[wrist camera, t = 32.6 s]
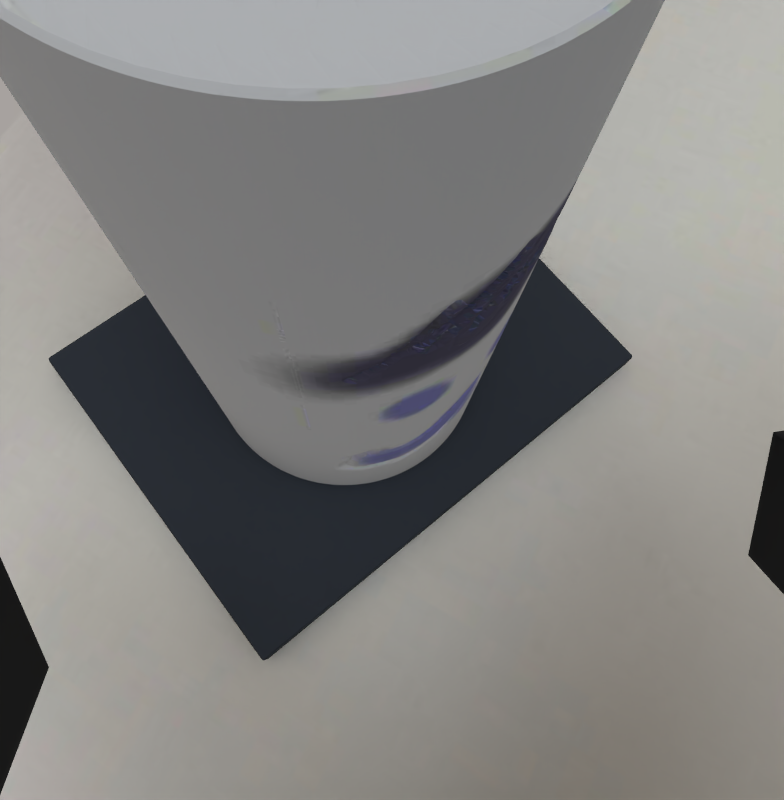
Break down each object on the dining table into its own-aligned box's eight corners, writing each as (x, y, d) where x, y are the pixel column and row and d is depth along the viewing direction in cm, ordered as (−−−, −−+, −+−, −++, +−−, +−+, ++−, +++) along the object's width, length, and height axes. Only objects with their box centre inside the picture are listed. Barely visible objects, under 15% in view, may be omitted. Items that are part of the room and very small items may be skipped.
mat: (408, 134, 31) (409, 122, 30) (626, 363, 28) (633, 355, 27) (55, 365, 27) (46, 358, 26) (266, 660, 24) (263, 661, 23)
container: (390, 537, 25) (482, 268, 6) (163, 399, 26) (-376, -199, 7) (518, 321, 28) (863, -339, 9) (308, 205, 29) (203, -598, 10)
